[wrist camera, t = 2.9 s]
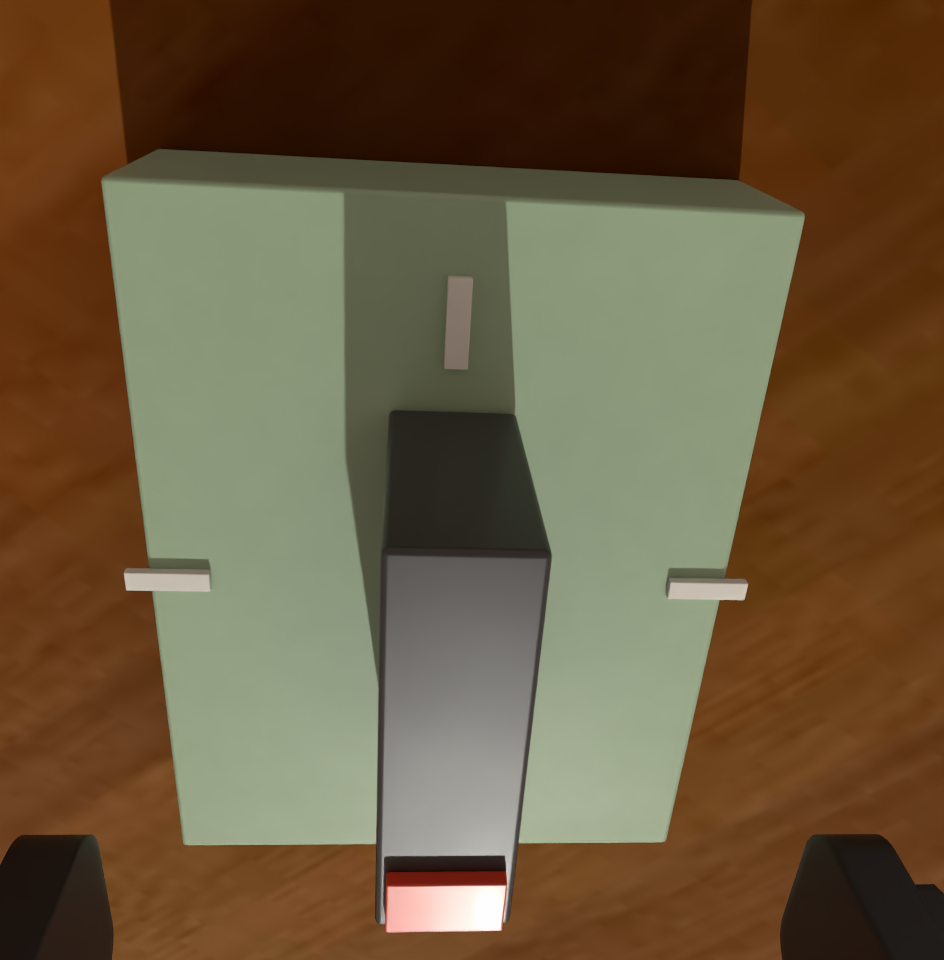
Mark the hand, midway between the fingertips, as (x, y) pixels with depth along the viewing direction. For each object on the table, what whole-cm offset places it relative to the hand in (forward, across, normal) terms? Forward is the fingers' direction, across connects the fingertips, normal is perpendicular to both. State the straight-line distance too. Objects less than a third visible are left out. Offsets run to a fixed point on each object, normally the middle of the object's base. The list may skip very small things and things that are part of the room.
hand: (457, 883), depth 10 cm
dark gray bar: (+6, 0, 0) cm, 6 cm away
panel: (+9, 0, 0) cm, 9 cm away
